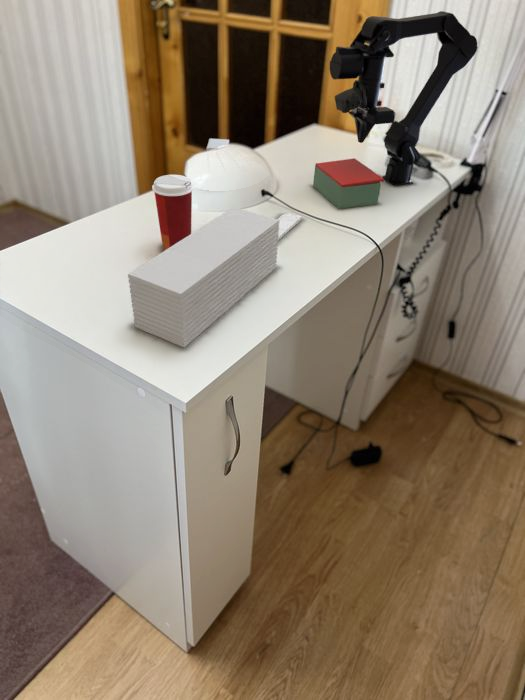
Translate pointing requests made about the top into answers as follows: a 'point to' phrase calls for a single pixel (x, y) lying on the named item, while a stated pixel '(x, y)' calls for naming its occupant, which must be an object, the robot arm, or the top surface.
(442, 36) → the robot arm
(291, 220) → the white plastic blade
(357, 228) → the top surface
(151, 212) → the top surface
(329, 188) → the box
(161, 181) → the coffee cup
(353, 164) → the lid
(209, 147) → the small box
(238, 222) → the stack of papers
